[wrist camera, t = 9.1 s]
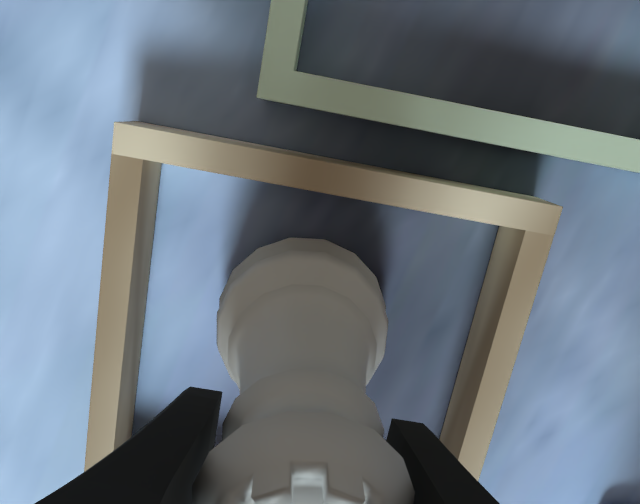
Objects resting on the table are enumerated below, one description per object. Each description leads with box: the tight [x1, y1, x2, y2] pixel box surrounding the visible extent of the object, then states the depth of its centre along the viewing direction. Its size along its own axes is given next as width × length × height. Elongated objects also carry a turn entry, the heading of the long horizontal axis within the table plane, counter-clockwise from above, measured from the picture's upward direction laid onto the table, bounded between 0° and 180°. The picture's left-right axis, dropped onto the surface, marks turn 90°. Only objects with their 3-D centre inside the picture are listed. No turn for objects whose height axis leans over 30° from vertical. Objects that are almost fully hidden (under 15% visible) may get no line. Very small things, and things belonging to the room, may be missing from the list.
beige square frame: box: [84, 121, 563, 481], centre depth 14 cm, size 10×10×2 cm
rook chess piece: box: [192, 237, 415, 504], centre depth 10 cm, size 4×4×8 cm
